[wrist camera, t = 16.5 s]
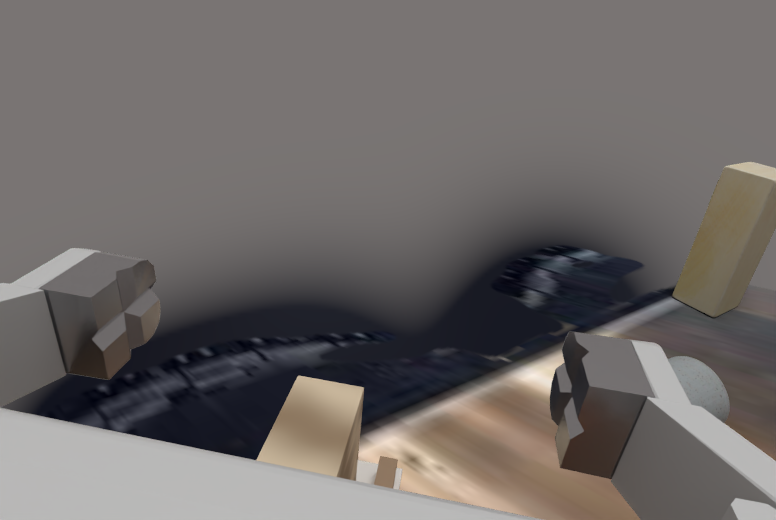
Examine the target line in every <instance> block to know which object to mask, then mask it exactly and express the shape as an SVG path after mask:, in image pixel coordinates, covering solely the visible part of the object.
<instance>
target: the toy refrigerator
mask: <svg viewBox="0 0 776 520" xmlns="http://www.w3.org/2000/svg"><path fill="white" fill-rule="evenodd" d="M775 229H776V168H773V167H769V166H765V165H761V164H757V163H753V162H746V163H740V164H735V165H729V166H725V168H724V169H723V172H722V174H721V176H720V179H719V180H718V183H717V185H716V188H715V190H714V192H713V195H712V198H711V200H710V202H709V206H708V209H707V211H706V213H705V216H704V218H703V221H702V223H701V226H700V228H699V231H698V233H697V236H696V238H695V241H694V243H693V246H692V248H691V251H690V253H689V256H688V258H687V261H686V263H685V265H684V268H683V270H682V273H681V275H680V278H679V280H678V282H677V285H676V287H675V290H674V292H673V295H672V296H673V297H674V298H676V299H677V300H679V301H681V302H683V303H685V304H687V305H689V306H691V307H693V308H695V309H697V310H699V311H701V312H703V313H705V314H707V315H709V316H711V317H717V316H719V315H721V314H723V313H725V312H727V311H729V310H731V309H733V308H735V307H737V306H738V305H739V303H740V302H741V299H742V297H743V295H744V293H745V291H746V289H747V287H748V285H749V283H750V281H751V279H752V277H753V274H754V272H755V270H756V268H757V266H758V264H759V262H760V260H761V258H762V256H763V254H764V252H765V249H766V247H767V245H768V243H769V241H770V239H771V237H772V235H773V233H774V231H775Z"/></svg>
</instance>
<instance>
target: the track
mask: <svg viewBox="0 0 776 520" xmlns="http://www.w3.org/2000/svg"><path fill="white" fill-rule="evenodd" d="M397 461H398V460H397V459H392V458H387V457H382V456H380V460H379V464H375V463H370V462H365V461H360V460H358V463H357V474H356V481H359V482H363V483H368V484H373V485H378V486H383V487H388V488H392V489H397V490H399V487H400V481H401V475H402V469H400V468H397Z"/></svg>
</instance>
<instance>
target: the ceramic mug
mask: <svg viewBox="0 0 776 520" xmlns="http://www.w3.org/2000/svg"><path fill="white" fill-rule="evenodd" d="M668 361H669V363H670V365H671V367H672V369H673V371H674V373H675V374H676V376H677V378H678V380H679V382H680V384H681V386H682V388H683V390H684V391H685V393H686V395H687V397H688V399H689V401H690V403H691V405H695V406H701V407H702V408H704V409H705V410H706V411H708V412H709V413H711V414H712V415H713V416H715V417H716V418H717V419H719V420H720V421H722V422H723V423H724V422H725V421H726V419H727V417H728V414H729V398H728V395H727V392H726V389H725V387H724V385H723V383H722V382H721V380H720V379H719V377H718V376H717V375H716V374H715V373H714V371H713V370H712V369H710V368H709V367H708V366H707V365H705V364H704V363H702V362H700V361H698V360H696V359H694V358H691V357H686V356H677V357H672V358H670V359H668Z"/></svg>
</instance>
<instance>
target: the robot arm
mask: <svg viewBox="0 0 776 520" xmlns="http://www.w3.org/2000/svg"><path fill="white" fill-rule="evenodd" d="M155 282H156V276H155V271H154V266H153V265H152V264H151V263H150V262H149V261H148V260H143V259H138V258H133V257H128V256H122V255H117V254H112V253H106V252H100V251H96V250H89V249H83V248H71V249H69V250H68V251H66V252H64V253H63V254H61V255H59V256H57V257H56V258H54V259H52V260H51V261H49V262H47V263H46V264H44V265H42V266H40V267H39V268H37V269H35V270H34V271H32V272H30V273H28V274H27V275H25V276H23V277H22V278H20V279H18V280H16V281H15V282H13V283H11V284H6V283H0V407H2V406H4V405H6V404H8V403H10V402H12V401H14V400H16V399H18V398H20V397H23V396H24V395H27V394H29V393H31V392H33V391H35V390H37V389H39V388H41V387H43V386H45V385H47V384H49V383H51V382H53V381H55V380H57V379H59V378H61V377H63V376H65V375H66V373H70V374H76V375H82V376H88V377H94V378H100V379H106V380H109V379H110V378H111V377H112V376H113V375H114V374H115V373H116V372H117V371H118V370H119V369H120V368H121V367H122V366H123V365H124V364H125V363H126V362H127V361H128V360H129V359H130V358H131V351H130V349H133V348H135V347H138V346H140V345H143V344H145V343H146V342H147V341H148V340H149V339H150V338H151V336H152V335H153V334H154V332H155V330H156V328H157V325H158V323H159V319H160V303H159V299H158V298H157V296H156V295H155V294H154V292H153V291H152V290H151V287H152V286H153V285H154V283H155ZM562 352H563V357H564V362H565V363H564V364H562V365H561V366H559V367H558V368H556V370H555V374H554V378H553V381H552V386H551V394H550V410H551V417H552V420H553V421H554V422H555V423H556V424H557V425H558V426H559V427H558V430H557V433H556V436H555V441H556V447H557V453H558V458H559V464H560V468H563V469H568V470H572V471H577V472H581V473H586V474H590V475H595V476H599V477H604V478H608V479H612V480H611V482H612V484H613V485H614V486H615V487H616V489H617V490H618V491H619V492H620V494H621V495H622V496H623V497H624V499H625V500H626V501H627V503H628V504H629V505H630V506H631V508H632V509H633V510H634V511H635V513H636V514H637V515H638V516H639V518H640V519H641V520H776V461H775V460H773V459H772V458H771V457H769V456H768V455H767V454H765V453H764V452H762V451H761V450H760V449H758V448H757V447H756V446H754V445H753V444H752V443H750V442H749V441H747V440H746V439H745V438H743V437H742V436H741V435H739V434H738V433H737V432H735V431H734V430H732V429H731V428H730V427H728V426H727V425H726V424H724V423H723V422H722V421H720V420H719V419H717V418H716V417H715V416H713V415H712V414H711V413H709V412H708V411H706V410H705V409H704V408H702V407H701V406H695V405H691V403H690V401H689V399H688V397H687V395H686V393H685V391H684V390H683V388H682V386H681V384H680V382H679V380H678V378H677V376H676V374H675V373H674V371H673V369H672V367H671V365H670V363H669V361H668V359H667V357H666V356H665V354H664V352H663V350H662V348H661V347H660V346H659V345H658V344H656V343H651V342H643V341H635V340H628V339H620V338H613V337H606V336H599V335H592V334H585V333H577V332H570V331H569V333H568V335H567V337H566V339H565V342H564V345H563V348H562ZM0 520H542V519H537V518H532V517H528V516H523V515H518V514H513V513H508V512H503V511H499V510H494V509H489V508H484V507H479V506H474V505H470V504H465V503H460V502H455V501H450V500H446V499H441V498H436V497H431V496H426V495H421V494H417V493H412V492H407V491H402V490H397V489H392V488H388V487H383V486H378V485H373V484H368V483H363V482H359V481H354V480H349V479H344V478H339V477H334V476H330V475H325V474H320V473H315V472H310V471H305V470H300V469H295V468H290V467H286V466H281V465H276V464H271V463H266V462H261V461H256V460H251V459H246V458H242V457H237V456H232V455H227V454H222V453H217V452H212V451H207V450H202V449H197V448H193V447H188V446H183V445H178V444H173V443H168V442H163V441H158V440H153V439H149V438H144V437H139V436H134V435H129V434H124V433H120V432H115V431H110V430H105V429H100V428H95V427H91V426H86V425H81V424H76V423H71V422H66V421H61V420H57V419H52V418H47V417H42V416H37V415H32V414H28V413H23V412H18V411H13V410H8V409H3V408H0Z"/></svg>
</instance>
